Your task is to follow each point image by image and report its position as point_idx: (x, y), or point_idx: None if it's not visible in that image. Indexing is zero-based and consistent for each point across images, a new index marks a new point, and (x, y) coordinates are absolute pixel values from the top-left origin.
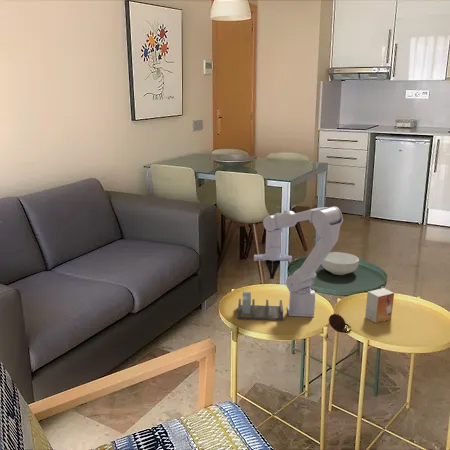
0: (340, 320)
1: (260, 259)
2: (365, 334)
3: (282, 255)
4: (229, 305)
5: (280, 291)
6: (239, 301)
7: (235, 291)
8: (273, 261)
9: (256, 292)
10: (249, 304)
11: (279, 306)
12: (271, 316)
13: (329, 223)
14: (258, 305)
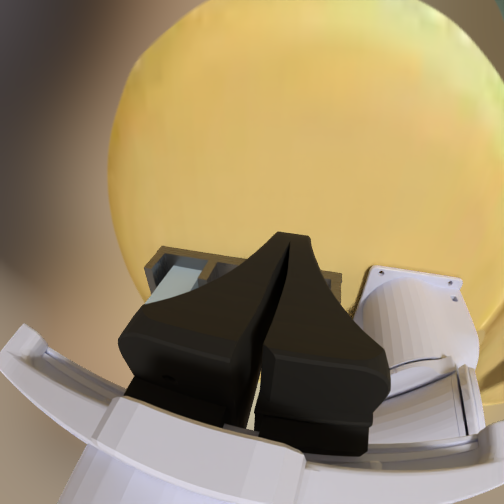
0: None
1: (82, 386)
2: None
3: (436, 493)
4: (131, 229)
5: (378, 68)
6: (152, 288)
7: (127, 89)
8: (260, 427)
9: (227, 81)
10: None
11: (330, 284)
12: None
13: None
14: (235, 265)
